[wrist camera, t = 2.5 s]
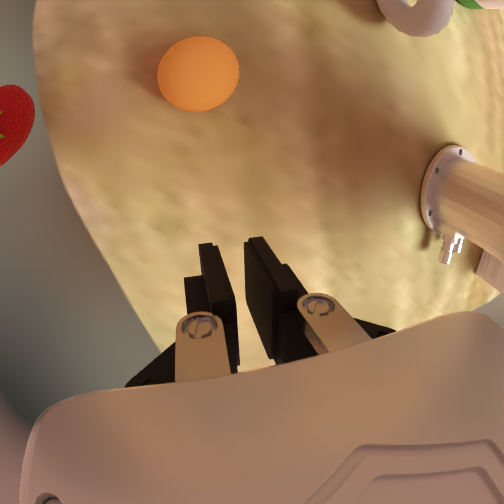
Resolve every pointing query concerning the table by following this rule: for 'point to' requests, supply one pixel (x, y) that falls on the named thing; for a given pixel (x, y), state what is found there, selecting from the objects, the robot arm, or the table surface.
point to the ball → (198, 73)
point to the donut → (417, 15)
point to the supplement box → (491, 270)
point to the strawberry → (14, 120)
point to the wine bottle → (482, 4)
